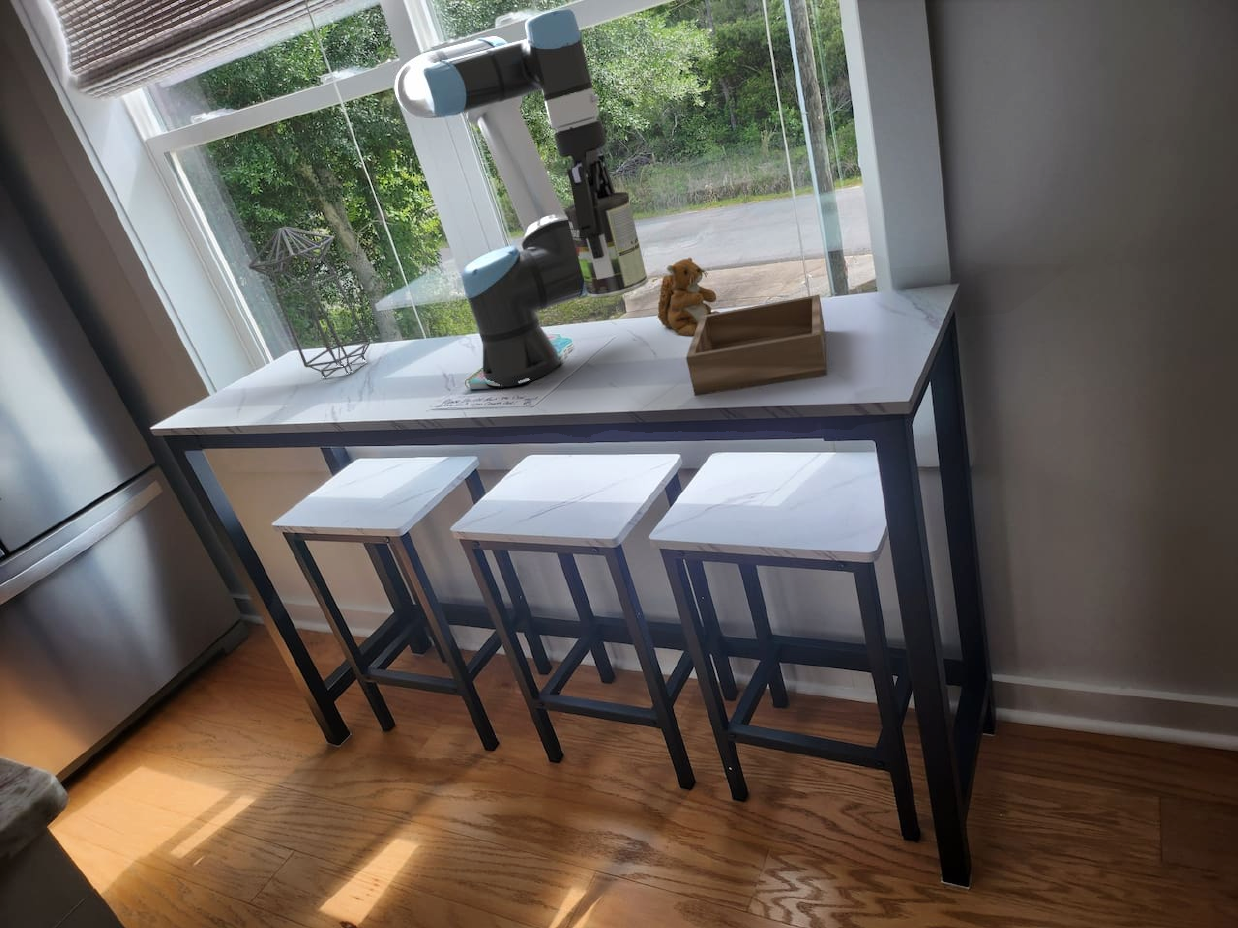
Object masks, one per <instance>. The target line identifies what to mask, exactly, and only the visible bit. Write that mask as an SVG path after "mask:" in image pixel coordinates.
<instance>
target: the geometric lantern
mask: <svg viewBox="0 0 1238 928" xmlns="http://www.w3.org/2000/svg"><path fill="white" fill-rule="evenodd" d="M287 235H288V236H289V238H290V239H291V241H292V242H293V244H294V245H295V246H292V245H291V244H290V241H289V239H288V237H287ZM304 235H307V236H313V237H319V238H322V239H320V240H318V241H315V240H312V239H311V238H308V237H306V236H304ZM334 239H336V236H333V235H329V234H323V233H320V232H319V233H318V232H315V231H310V230H303V229H298V228H294V227H290V226H282V227H279V228H278V229H277V230H276V232H275V233H274V235H272V237H271V238H270V239H269V241H268V242H266V245H264V246H263V248H262V249H261V250H260V251H259V252H258V253H257V255H256V256H255V257H254V259H253V260H252V261H251V262H250V263H249V265H248V269H250V270H253V271H255V272H258V273H260V274H261V275H262V274H263V275H265V276H267V277H270V278H271V279H273V282H274V288H275V293H276V294H275V296H276V299H277V302H278V304H279V306H280V309H281V310H282V313H283V315H284V318H285V321H286V323H287V326H288V327H289V330H290V333H291V334H292V337H293V339H294V341H295V344H296V345H295V346H296V348H297V350H298V353H299V355H300V358H301V361H302V363H303V366H304V367H305V368H310V369H312V370H315V371H318V372H320V373H321V375H322V377H323V376H324V377H325V375H326V374H325V373H324V372H329V371H330V372H331V371H333V370H335V369H337V370H340V369H344V370H345V372H346V373H345V374H347V373H348V374H349V371H350V372H351V371H353V369H352V367H351V365H350V364H352V363H356V361H357V360H359V359H360V358H361V359H362V360H363V359H364V360H366V358H365V356H364V355H365V354H366V352H367V350H368V348H369V346H370V345H371V341H370V339H369V337H368V335H367V333H366V332H365V330H364V328H363V326H362V324H361V322H360V321H359V318H358V316H357V314H356V312H355V311H354V309H353V307H352V305H351V303H350V301H349V299H348V296H347V295H346V291H345V290H344V288H343V286H342V284H341V282H340V280H339V278H338V275H337V272H335V270H334V269H333V268H332V266H331V264H330V262H329V261H328V260H327V257H326V255H327V252H328V251H329V249H330V247H331V245H332V243H333V240H334ZM272 242H273V244H272ZM284 243H285V245H286V247H287V249H285V245H284ZM271 244H272V247H271V249H270V251H269V254H268V257H267V260H266V261H265V260H264V261H261V262H257V263H256V261H258V259H259V258H260V257H261V256H262V254H263V253H264V252H265V251H266V250H267V249H268V247H270V245H271ZM281 244H282V250H281V251H280V248H281ZM297 244H298V245H299V246H298V245H297ZM275 249H276V254H275V258H273V259H272V257H273V254H274V252H275ZM303 249H304V250H303ZM316 249H318V250H319V251H320V253H319V255H315V252H314V251H315V250H316ZM287 251H288V252H289V254H290V255H288V256H286V257H285V253H286V252H287ZM294 252H296V253H294ZM310 254H311V255H310ZM280 256H281V257H280ZM297 256H300V257H301V258H302V259H305V260H307V261H308V262H309V263H310V264H309V265H310V266H309V270H308V271H309V272H308V279H306V280H303V281H302V280H300V279H299V278H298V277H296V276H294V275H293V274H292V273H290V272H288V271H286V270H287V268H288V267H289V265H290V263H291V261H292V259H293V258H294V257H297ZM285 261H287V262H286V263H285V265H284V262H285ZM321 261H322V262H323V263H324V265H325V266H326V267H327V269H328V271H330V274H326V275H321V276H318V277H314V278H313V276H314V270H315V265H317V264H318V263H319V264H320V263H321ZM273 265H274V266H275V267H276V269H275V270H274V269H273V267H272V266H273ZM263 267H266V268H263ZM278 272H279V273H278ZM275 273H276V274H275ZM282 275H284V276H285V277H286V278H288V279H289V280H290V281H292V282H293V284H295V285H293V286H290V287H289V288H286V289H284V290H283V291H281V292H280V289H279V285H278V282H277V281H278V280H277V278H278V277H281V276H282ZM326 277H327V278H326ZM324 278H325V279H324ZM319 279H324V280H321V281H319V282H317V283H315V284H312V281H315V280H319ZM331 279H333V280H334V281H335V283H336V285H337V287H338V289H339V291H340V293H341V295H342V296H343V298H344V300H345V302H346V305H347V306H348V308H349V310H350V312H351V314H352V316H353V318H354V320H355V322H356V325H357V326H358V329H359V330H360V332H361V336H362V337H363V339H361V340H357V341H353V342H348V343H342V342H341V340H340V339H339V336H338V334H337V333H336V330H335V329H334V327H333V325H332V322H331V320H330V318H329V316H328V315H327V312H326V310H325V308H324V307H323V305H322V303H321V300H320V298H319V297H318V295H317V293H316V290H315V289H314V287H317V286H319V285H321V284H323V283H325V282H327V281H329V280H331ZM306 283H308V287H306V286H305V285H304V284H306ZM295 287H300V289H298V290H293V291H290V290H292V289H294V288H295ZM305 287H306V288H305ZM309 290H310V291H311V292H312V294H313V296H314V297H315V301H316V302H317V304H318V306H319V309H320V311H321V313H322V316H323V317H324V320H325V321H326V324H327V326H328V328H329V331H330V332H331V335H332V337H333V339H334V342H335V344H336V346H335V345H334V346H333V347H331V344H330V342H329V340H328V338H327V336H326V333H325V331H324V328H323V326H322V324H321V323H320V320H319V317H318V315H317V313H316V311H315V309H314V306H313V304H312V301H311V299H310V298H309V294H308V292H307V291H309ZM288 291H289V292H288ZM300 292H303V294H304V295H305V298H306V300H307V303H308V306H309V308H310V311H311V313H312V316H313V318H314V320H315V323H316V326H317V329H318V331H319V333H320V334H319V335H320V336H321V339H322V342H323V343H324V347H325V350H323V351H322V352H321V353H319V354H318V355H316V356H315V357H313V358H311V359H310V360H309V361H307V360H306V358H305V356H304V353H303V351H302V347H301V346H300V343H299V341H298V338H297V336H296V334H295V331H294V327H293V326H292V322H291V320H290V316H289V314H288V311H287V309H286V306H285V303H284V300H283V298H282V296H286V295H291V294H295V293H300ZM361 343H362V345H361V346H359V347H358V348H356V349H355V350H353V351H351V352H349V353H348V354H347V352H346V350H345V348H344V347H347V346H353V345H358V344H361ZM363 343H364V344H363ZM335 349H338V350H337V351H338V353H337V354H338V358H337V359H336V356H335V354H334V352H333V350H335ZM360 350H361V352H360V353H357V352H359V351H360ZM341 351H342V353H343V355H344V356H342V357H341ZM327 353H329V354H330V356H331V358H332V359H333V360H330V361H324V362H319V363H318V362H317V363H313V362H314V361H315V360H317V359H318V358H320V357H322V356H323V355H324V354H327ZM355 353H357V354H355ZM357 356H358V357H357ZM353 357H356V358H355V359H353V360H352V361H351V362H350V361H349V359H350V358H353ZM345 359H346V364H347V365H346V366H344V363H343V362H342V361H344V360H345ZM311 363H312V364H311ZM341 363H342V364H341ZM333 364H335V365H336V367H332V368H329V367H330V366H332V365H333ZM338 364H339V365H338ZM324 365H326V366H324ZM337 365H338V366H343V367H337ZM317 366H324V367H323V368H322V369H319V368H317ZM347 368H349V371H348V370H347ZM335 371H336V370H335Z"/></svg>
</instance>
